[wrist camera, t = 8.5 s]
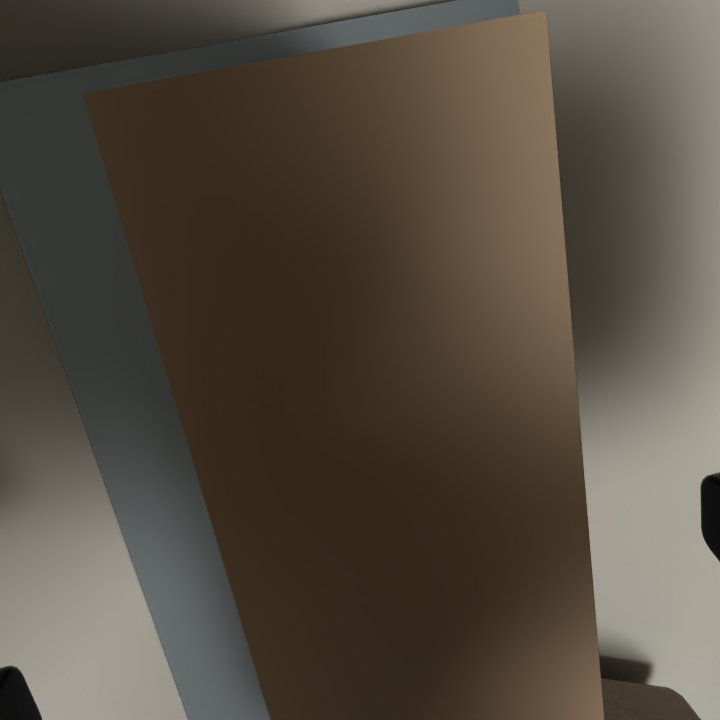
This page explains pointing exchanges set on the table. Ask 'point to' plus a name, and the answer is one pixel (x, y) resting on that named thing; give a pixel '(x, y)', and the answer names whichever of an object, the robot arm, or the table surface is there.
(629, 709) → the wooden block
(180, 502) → the rubber mat
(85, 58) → the table surface
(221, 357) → the walnut panel
